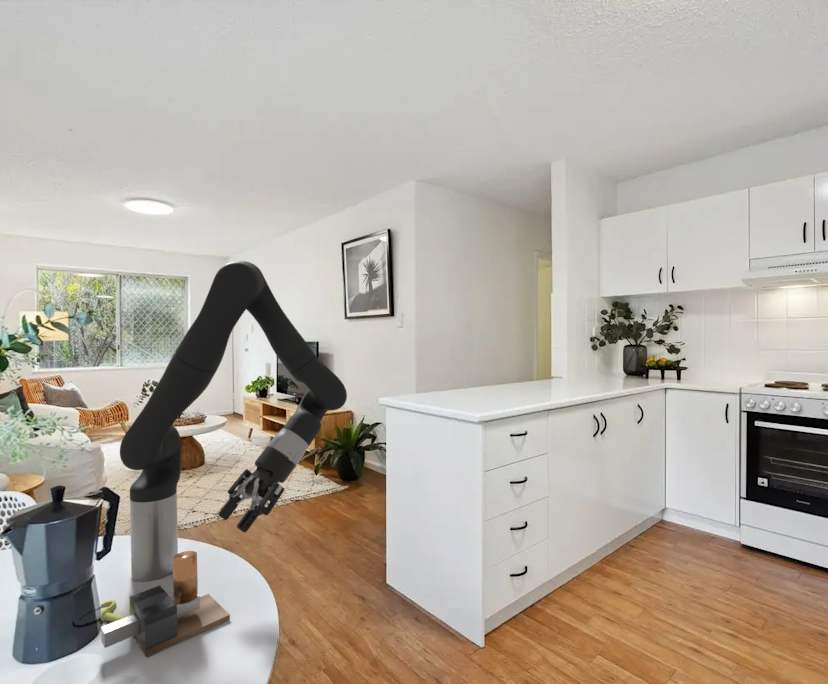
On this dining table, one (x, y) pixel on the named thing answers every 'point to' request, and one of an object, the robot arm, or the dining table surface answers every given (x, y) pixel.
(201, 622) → the base board
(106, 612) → the key
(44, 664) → the dining table surface
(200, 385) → the robot arm
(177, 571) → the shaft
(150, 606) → the block
